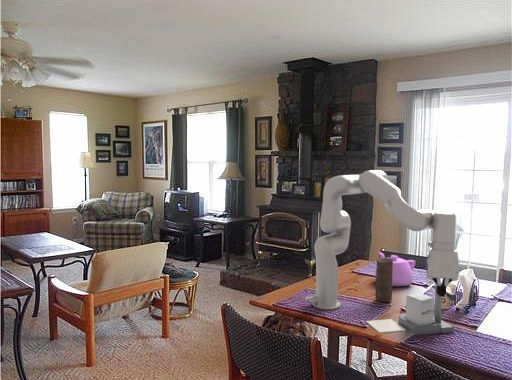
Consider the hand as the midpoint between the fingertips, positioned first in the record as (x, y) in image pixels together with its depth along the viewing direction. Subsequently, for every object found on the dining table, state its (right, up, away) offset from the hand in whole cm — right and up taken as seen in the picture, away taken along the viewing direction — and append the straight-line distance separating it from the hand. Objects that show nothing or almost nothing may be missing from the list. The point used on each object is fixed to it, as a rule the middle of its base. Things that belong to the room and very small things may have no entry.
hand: (441, 295), depth 148 cm
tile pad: (-17, -15, +11) cm, 25 cm away
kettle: (+5, -12, +69) cm, 70 cm away
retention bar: (+3, 0, +4) cm, 5 cm away
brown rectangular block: (-8, -13, +40) cm, 43 cm away
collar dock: (-2, -15, +10) cm, 18 cm away
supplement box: (-4, -15, +10) cm, 19 cm away
